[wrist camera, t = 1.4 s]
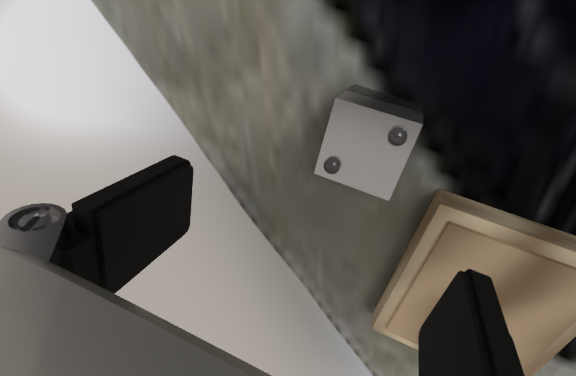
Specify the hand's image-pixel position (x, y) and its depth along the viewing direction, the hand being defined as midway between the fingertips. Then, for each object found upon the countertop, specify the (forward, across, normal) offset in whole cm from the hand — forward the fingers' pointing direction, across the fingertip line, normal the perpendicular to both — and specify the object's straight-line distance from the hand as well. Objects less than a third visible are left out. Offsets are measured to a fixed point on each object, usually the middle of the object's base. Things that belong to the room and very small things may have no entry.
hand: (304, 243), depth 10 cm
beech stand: (+16, -13, +10) cm, 22 cm away
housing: (+16, -1, 0) cm, 16 cm away
